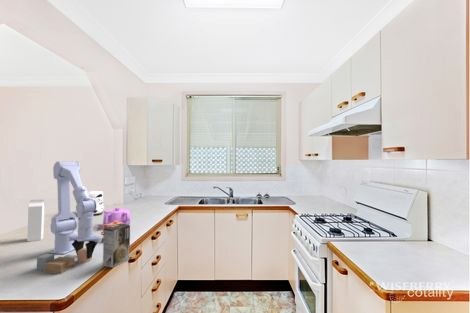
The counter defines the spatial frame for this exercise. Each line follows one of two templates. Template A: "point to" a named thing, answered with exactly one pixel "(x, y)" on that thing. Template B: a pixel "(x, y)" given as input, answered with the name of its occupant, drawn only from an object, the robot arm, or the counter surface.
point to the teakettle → (117, 216)
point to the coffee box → (116, 245)
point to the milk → (35, 220)
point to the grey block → (44, 261)
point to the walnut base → (59, 264)
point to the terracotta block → (82, 256)
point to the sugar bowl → (110, 225)
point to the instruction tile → (71, 256)
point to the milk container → (97, 201)
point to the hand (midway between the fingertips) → (84, 257)
